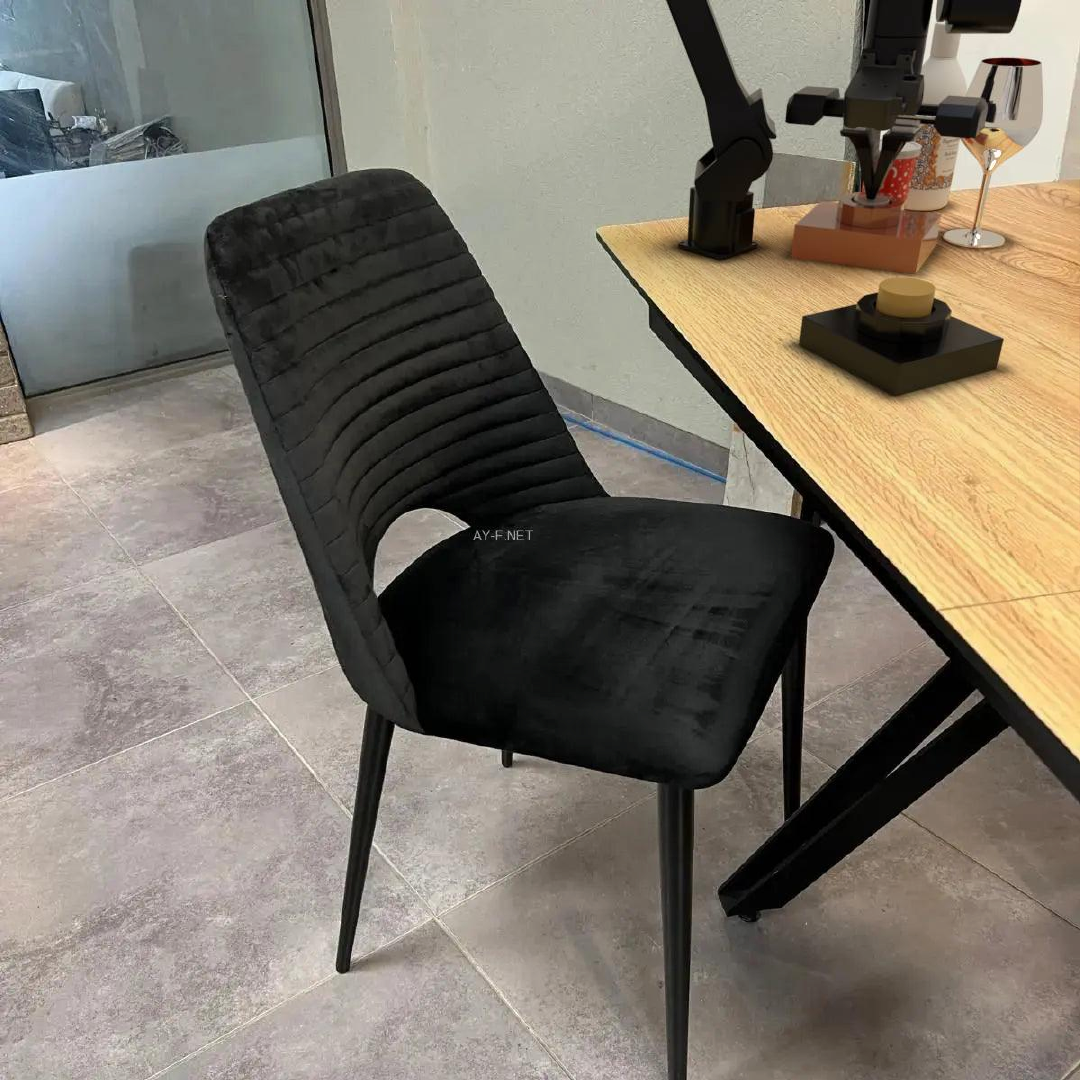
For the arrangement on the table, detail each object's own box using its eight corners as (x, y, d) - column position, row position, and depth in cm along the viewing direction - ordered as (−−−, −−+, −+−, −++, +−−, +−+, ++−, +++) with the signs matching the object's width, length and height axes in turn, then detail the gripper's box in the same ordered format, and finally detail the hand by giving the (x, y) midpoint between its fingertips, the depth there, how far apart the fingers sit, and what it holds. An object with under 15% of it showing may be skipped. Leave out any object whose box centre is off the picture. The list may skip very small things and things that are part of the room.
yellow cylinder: (864, 307, 86) (868, 282, 85) (904, 298, 88) (908, 273, 86) (901, 324, 83) (905, 299, 81) (942, 314, 84) (947, 289, 83)
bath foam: (921, 215, 121) (954, 28, 110) (875, 202, 126) (903, 22, 115) (959, 205, 124) (995, 22, 113) (913, 193, 129) (943, 16, 118)
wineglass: (925, 229, 117) (957, 56, 107) (998, 228, 117) (1037, 54, 107) (947, 251, 110) (983, 69, 100) (1024, 250, 110) (1068, 67, 100)
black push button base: (798, 345, 90) (804, 295, 87) (895, 322, 94) (903, 274, 91) (894, 397, 81) (903, 343, 78) (997, 369, 85) (1009, 317, 82)
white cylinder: (847, 219, 108) (850, 201, 107) (856, 211, 111) (859, 192, 110) (882, 223, 107) (885, 204, 106) (890, 214, 109) (893, 196, 108)
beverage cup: (841, 225, 119) (859, 96, 111) (874, 215, 122) (894, 88, 114) (884, 238, 114) (906, 104, 107) (918, 227, 118) (942, 96, 110)
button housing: (791, 257, 110) (796, 205, 107) (817, 231, 117) (823, 182, 114) (915, 274, 104) (925, 220, 101) (935, 246, 112) (945, 195, 109)
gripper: (776, 41, 97) (760, 208, 106) (984, 51, 89) (949, 230, 98) (810, 26, 105) (793, 182, 114) (1004, 34, 97) (970, 201, 106)
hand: (871, 198), depth 108 cm, fingers closed, pressing on white cylinder
